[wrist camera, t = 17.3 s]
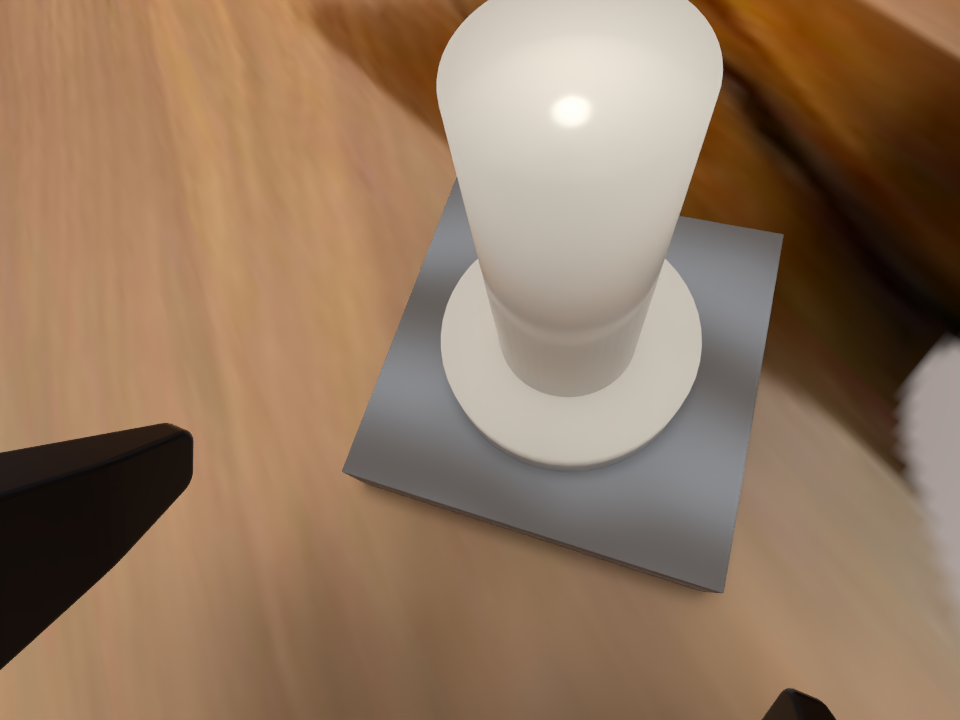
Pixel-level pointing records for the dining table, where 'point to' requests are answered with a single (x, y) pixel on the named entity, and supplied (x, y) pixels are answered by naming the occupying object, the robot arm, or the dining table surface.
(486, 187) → the cream cylindrical piece
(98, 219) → the dining table surface
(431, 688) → the dining table surface
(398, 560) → the dining table surface
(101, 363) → the dining table surface
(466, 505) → the grey block
